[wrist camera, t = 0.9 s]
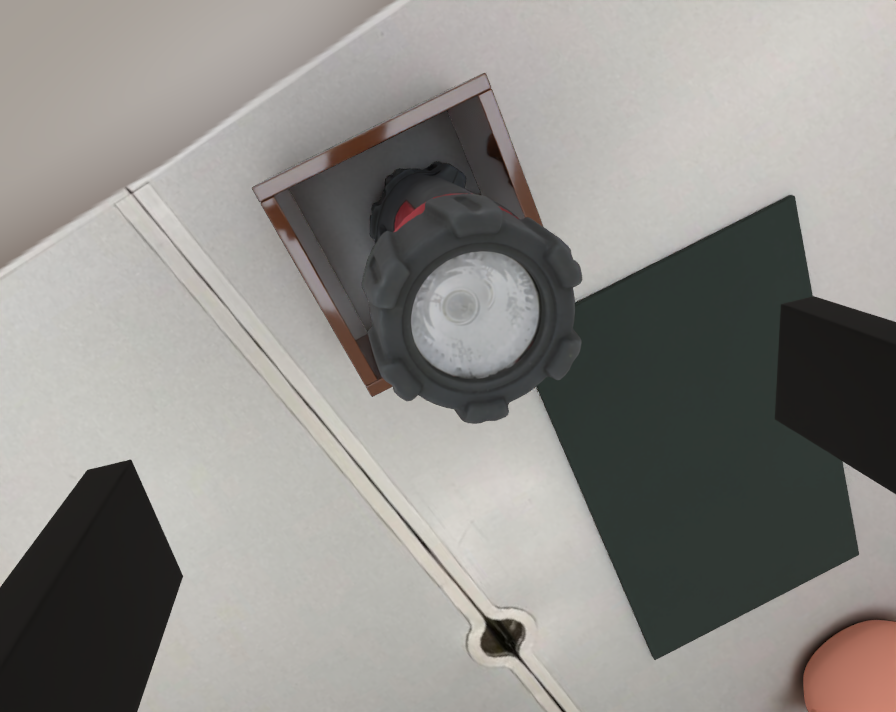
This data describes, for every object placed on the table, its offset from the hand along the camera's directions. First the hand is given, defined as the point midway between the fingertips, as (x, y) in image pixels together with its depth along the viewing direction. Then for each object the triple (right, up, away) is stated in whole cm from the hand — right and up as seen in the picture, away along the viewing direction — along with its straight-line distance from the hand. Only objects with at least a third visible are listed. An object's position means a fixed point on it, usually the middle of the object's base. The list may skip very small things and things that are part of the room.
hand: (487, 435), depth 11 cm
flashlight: (-4, +11, +28) cm, 30 cm away
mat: (+23, -8, +40) cm, 47 cm away
